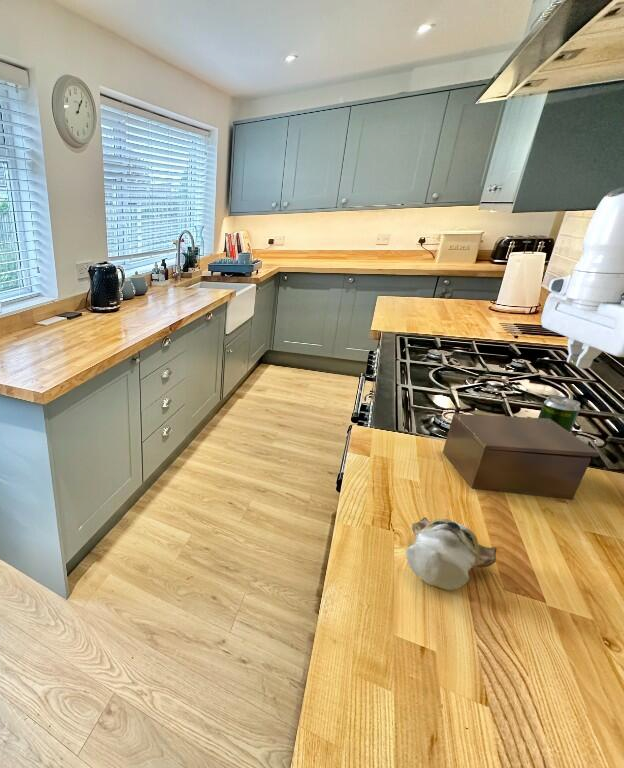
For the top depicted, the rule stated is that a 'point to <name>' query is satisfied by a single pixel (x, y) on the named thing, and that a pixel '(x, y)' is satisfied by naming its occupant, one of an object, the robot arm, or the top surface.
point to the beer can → (560, 411)
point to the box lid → (523, 435)
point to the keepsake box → (513, 467)
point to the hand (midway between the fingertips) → (577, 365)
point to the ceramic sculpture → (446, 553)
